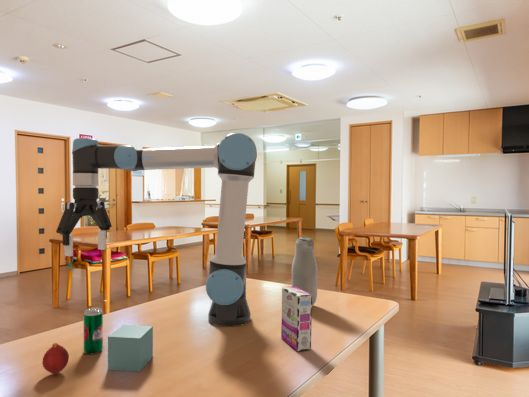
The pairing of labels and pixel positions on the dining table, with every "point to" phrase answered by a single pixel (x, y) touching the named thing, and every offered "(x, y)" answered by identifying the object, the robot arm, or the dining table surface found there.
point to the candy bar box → (296, 318)
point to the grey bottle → (305, 267)
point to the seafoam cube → (130, 348)
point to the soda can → (93, 330)
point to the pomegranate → (55, 359)
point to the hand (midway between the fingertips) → (86, 252)
